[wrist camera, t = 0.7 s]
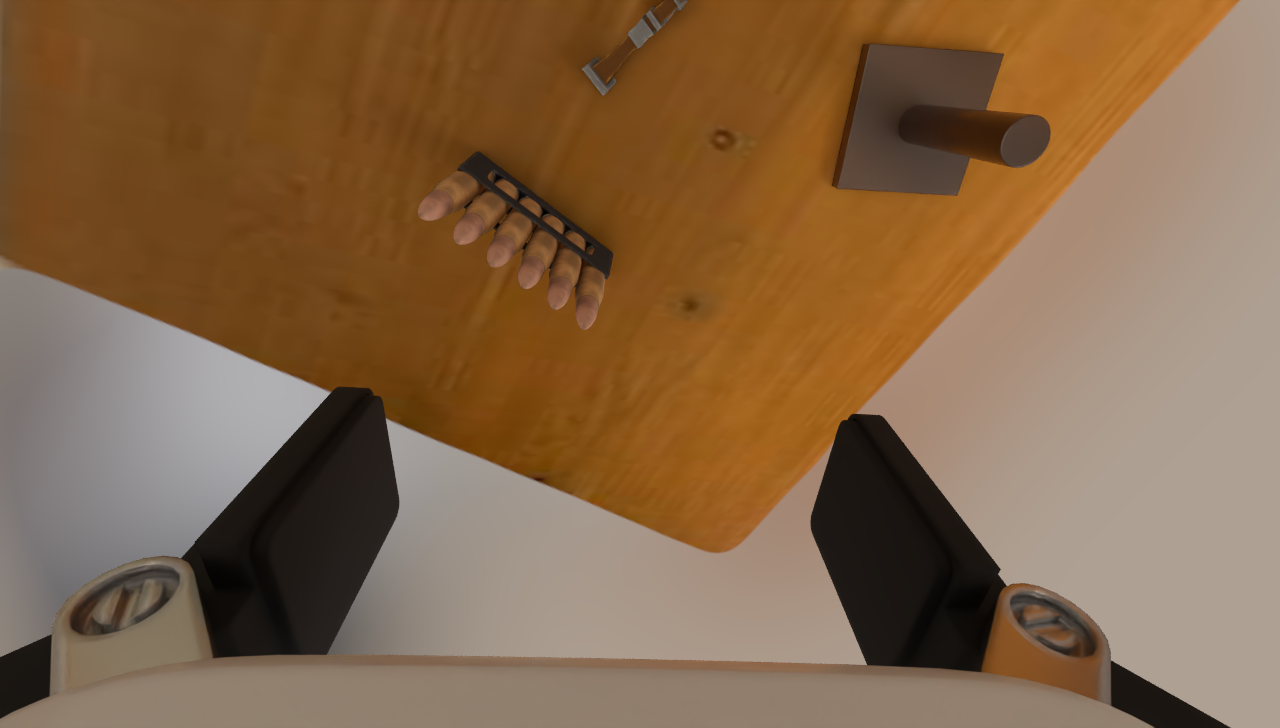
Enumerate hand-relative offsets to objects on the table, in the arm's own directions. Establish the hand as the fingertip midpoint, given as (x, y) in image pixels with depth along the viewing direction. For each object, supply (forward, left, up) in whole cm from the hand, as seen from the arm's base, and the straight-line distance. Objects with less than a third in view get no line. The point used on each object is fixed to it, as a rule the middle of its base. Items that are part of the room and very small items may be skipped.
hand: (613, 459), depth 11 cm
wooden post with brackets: (-10, +1, -28) cm, 29 cm away
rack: (-6, +18, -27) cm, 33 cm away
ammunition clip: (+1, -5, -28) cm, 28 cm away
